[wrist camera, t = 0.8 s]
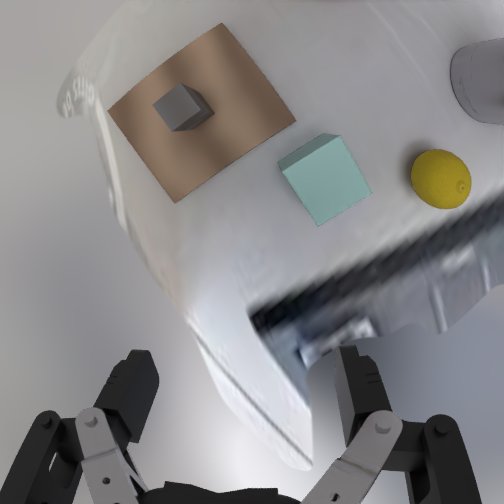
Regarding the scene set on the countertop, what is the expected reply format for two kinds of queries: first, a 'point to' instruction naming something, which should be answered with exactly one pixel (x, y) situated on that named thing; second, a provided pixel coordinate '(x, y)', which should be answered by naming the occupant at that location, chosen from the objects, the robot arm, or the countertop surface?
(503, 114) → the robot arm
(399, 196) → the countertop surface
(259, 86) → the stand
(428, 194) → the lemon
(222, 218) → the countertop surface
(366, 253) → the countertop surface
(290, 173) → the mint foam cube
